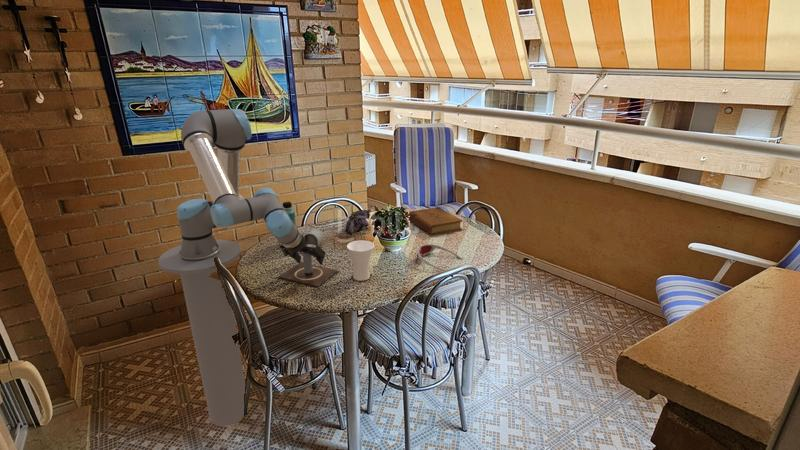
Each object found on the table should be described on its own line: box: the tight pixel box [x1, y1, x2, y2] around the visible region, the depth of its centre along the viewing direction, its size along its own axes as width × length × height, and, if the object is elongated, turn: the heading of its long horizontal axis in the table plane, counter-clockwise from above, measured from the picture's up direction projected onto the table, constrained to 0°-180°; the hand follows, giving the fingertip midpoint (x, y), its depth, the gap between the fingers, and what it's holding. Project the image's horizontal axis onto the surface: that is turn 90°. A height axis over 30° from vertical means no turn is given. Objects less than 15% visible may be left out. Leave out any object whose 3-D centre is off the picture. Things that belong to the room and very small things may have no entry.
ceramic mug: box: [303, 228, 325, 247], centre depth 188 cm, size 11×8×8 cm
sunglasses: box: [416, 243, 462, 272], centre depth 174 cm, size 17×17×5 cm
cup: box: [346, 239, 375, 282], centre depth 158 cm, size 10×10×14 cm
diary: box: [408, 206, 463, 237], centre depth 213 cm, size 23×19×6 cm
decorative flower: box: [345, 209, 372, 235], centre depth 207 cm, size 14×12×15 cm
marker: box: [302, 252, 313, 275], centre depth 160 cm, size 3×3×12 cm
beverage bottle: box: [282, 201, 297, 227], centre depth 189 cm, size 6×7×20 cm
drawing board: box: [278, 261, 339, 288], centre depth 162 cm, size 18×14×1 cm
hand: (310, 260), depth 164 cm, fingers open, 9 cm apart
